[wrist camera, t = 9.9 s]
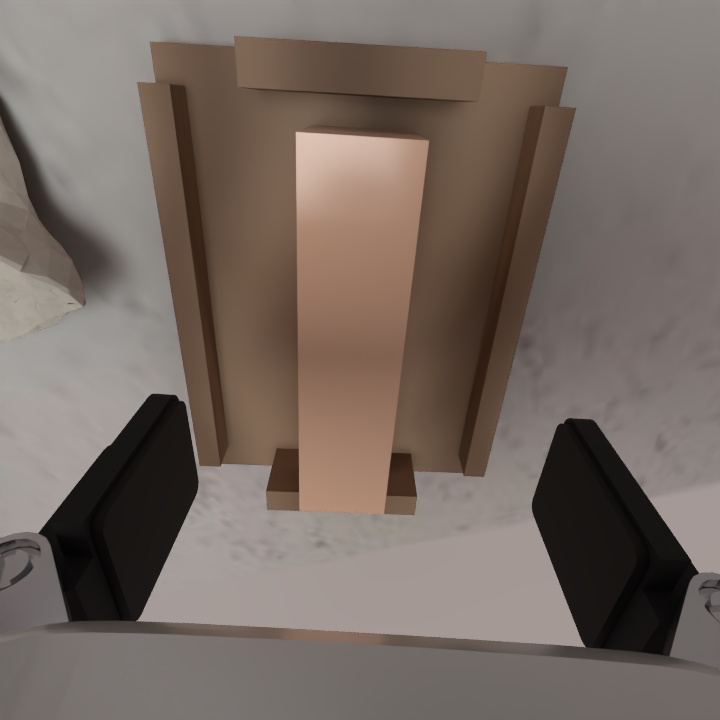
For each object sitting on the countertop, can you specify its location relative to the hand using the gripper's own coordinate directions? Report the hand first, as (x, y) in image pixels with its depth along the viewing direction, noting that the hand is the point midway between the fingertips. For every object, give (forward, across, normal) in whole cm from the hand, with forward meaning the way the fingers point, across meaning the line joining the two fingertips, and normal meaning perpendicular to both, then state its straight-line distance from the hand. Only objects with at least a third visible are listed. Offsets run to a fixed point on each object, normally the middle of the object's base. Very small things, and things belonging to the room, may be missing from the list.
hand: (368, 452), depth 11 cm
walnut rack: (+10, +1, 0) cm, 10 cm away
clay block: (+9, +1, 0) cm, 9 cm away
